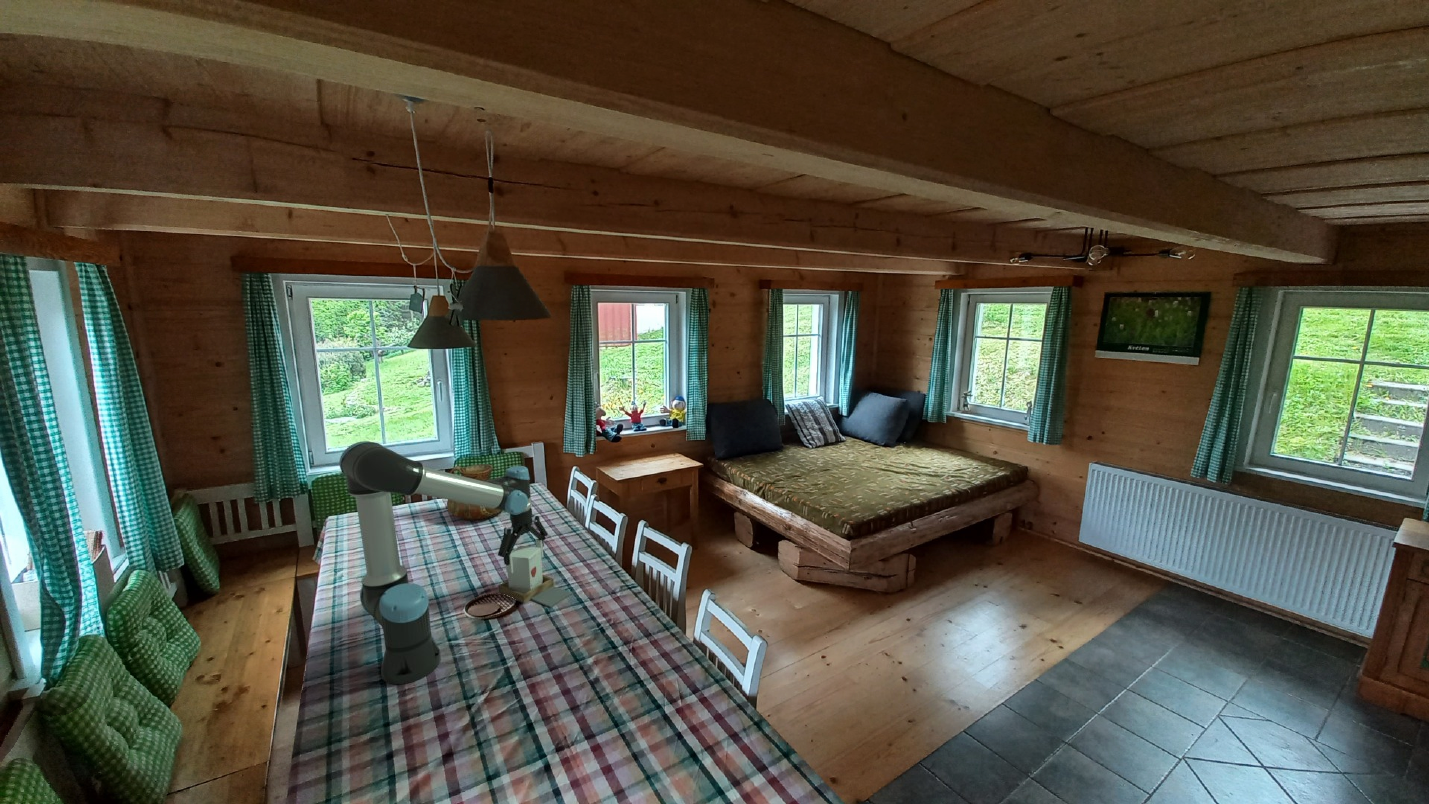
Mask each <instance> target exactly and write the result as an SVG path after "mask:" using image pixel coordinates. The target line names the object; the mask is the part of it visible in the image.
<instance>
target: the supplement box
mask: <svg viewBox="0 0 1429 804" xmlns="http://www.w3.org/2000/svg"><path fill="white" fill-rule="evenodd" d="M510 555H512V562H513V572H514V573H509V572H507V578H508V579H507V581H508V583H509V588H510V589H513V590H515V591H518V592H520V593H523V594H525V593H527V592H528V591H530V590H532V589H534V588H535V587H537V586H539V585H541V584H542V583H543V576H542V575H543V561H542V557H541V548H538V547H536V546H527V545H519V546H518V547H517V548H516V549H513V550H512V552H511V554H510Z"/></svg>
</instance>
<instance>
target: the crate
mask: <svg viewBox="0 0 1429 804" xmlns="http://www.w3.org/2000/svg"><path fill="white" fill-rule="evenodd" d="M542 576H543V583H542V584H541V585H539V586H537V587H535V588H534V589H532V590H530V591H528V592H527V593H525V594H523V593H520V592H518V591H515V590H513V589H510V588H509V583H508V580H506V581H504V582H501V583H500V584H498V585H497V586H498V587H497V588H498V593H499V594H500V593H501V595H503V594H505V595H508V596H510V597H513V598H514V599H513V600H515V599H516V600H515V601H517V602H520V603H521V604H522V603H523V604H526V603H527V602H530V601H532V600H531V598H532V597H534V596H536V595H538V594H539V593H541V592H543V591H544V590H546V589H548V588H549V587H551V586H555V583H554V582H555V581H554V578H553V577H549V576H547V575H544V574H542ZM505 595H504V596H505ZM510 597H509V598H510Z"/></svg>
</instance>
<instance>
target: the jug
mask: <svg viewBox="0 0 1429 804" xmlns="http://www.w3.org/2000/svg"><path fill="white" fill-rule="evenodd" d="M493 470H494V466H493V465H491V464H488V463H485V464H483V463H482V464H473V465H468V466H464V467H462V466H458V465H456V466H454V467H453V468H452V469H451V470H450V471H449V473H451V474H455V472H456V471H457V472H458V473H459V474H460V476H463V477H467V478H471V479H475V480H480V481H484V482H485V481H489V480H491V479H490V476H491V474H492V471H493ZM446 507H447V509H448V511H449V512H450V513H451V515H452V516H455V517H457V518H459V519H462V520H465V521H471V522H472V521H475V522H476V521H484V520H488V519H490V518H493V517H495V516H496V515H498V514H500V513H502V512H503V511H502V510H497V509H493V508H488V507H483V506H478V505H473V504H468V503H463V502H458V501H453V500H447V501H446Z"/></svg>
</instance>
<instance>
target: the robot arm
mask: <svg viewBox="0 0 1429 804" xmlns="http://www.w3.org/2000/svg"><path fill="white" fill-rule="evenodd" d="M338 464H339V469H340V471H341V473H342V475H344V476H345V481H346V486H347V492H348V495H350V496H352V497H353V498H355V504H356V510H357V517H358V522H359V524H358V525H359V528H360V529H359V530H360V535H361V542H362V549H363V556H364V557H363V558H364V562H365V564H364V565H365V569H366V573H365V575H364V576H363V577H362V579H361V585H362V586H361V589H360V590H359V591H360V593H359V599H360V603H361V607H362V608H363V609H364V610H365V612H367V613H368V614H369V615H370V616H371V617H372V618H373V619H374V620H375V621H376V622H377V623H378V625H380V627H381V628H382V632H383V640H384V648H385V650H384V654H383V658H382V662H381V667H380V672H381V673H380V674H381V675H380V676H381V679H382V680H383V681H384V682H385V683H388V684H390V685H391V684H392V685H402V684H403V685H405V684H409V683H411V682H415V681H418V680H420V679H423V678H425V677H426V676H428V675H430V674H431V673H432V672H434V671H435V669H437V668H438V667H439V665H440V663H441V660H442V656H441V654H442V653H441V650H440V647H439V645H438V644H437V642H436V640H435V639H434V637H433V635H432V625H431V619H430V608H429V601H430V600H429V596H428V595H427V590H426V589H425V588H424V587H423V586H422V585H420V584H418V583H409V577H408V569H407V567H405V566H403V565H401V562H400V561H401V560H400V554H399V547H398V545H399V544H398V538H397V533H396V532H397V531H396V524H395V517H394V509H393V502H392V494H396V495H397V494H398V495H404V496H408V497H409V496H413V495H414V494H418V495H422V496H428V497H433V498H436V499H437V498H438V499H442V500H447V501H448V500H453V501H458V502H463V503H468V504H473V505H478V506H483V507H488V508H493V509H497V510H502V511H501V512H506V513H507V514H509V519H510V523H511V526H509V527H504V529H503V536H502V538H501V539H502V540H501V543H500V545H499V546H500V547H499V549H498V553H497V556H498V557H501V558H503V564H504V565H505V567H506V568H505V569H506V572H507V573H508V572H509V573H514V572H513V562H512V555H510V554H511V553H512V552H513V551H514V547H515V545H516V543H517V541H518V540H519V539H520V537H521V536H524V535H526V534H527V533H531V534H532V535H533V536H534V537H535V538H536V539H535V547H538V548H541V558H544V546H545V544H544V541H545V540H546V537H547V536H548V532H547V530H546V529H545V527H544V525H543V523H542V522H541V520H540V516H539V515H536V514H533V510H532V496H531V483H530V482H531V481H530V480H531V478H530V474H529V469H528V467H526V466H524V465H515V466H510V467H508V468H506V470H505V475H503V476H500V477H496V478H493V479H490V480H489V481H485V482H484V481H480V480H475V479H471V478H467V477H463V476H462V475H459V474H455V473H454V474H451V473H450V472H446V471H442V470H439V469H434V468H430V467H425V465H424V463H422V462H420V461H416V460H412V459H411V458H407V457H405V456H403V455H402V454H399V453H398V452H396V451H394V450H392V449H389V448H387V447H385V446H383V445H382V444H381V443H379V442H376V441H375V442H374V441H367V440H365V441H364V440H363V441H357V442H355V443H352V444H351V445H349V446H347V447H346V449H345V450H344V451H342V454H340V458H339V463H338ZM533 524H534V526H535V527H536V529H537V530H536V529H535V527H534V526H532V525H533Z"/></svg>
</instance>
